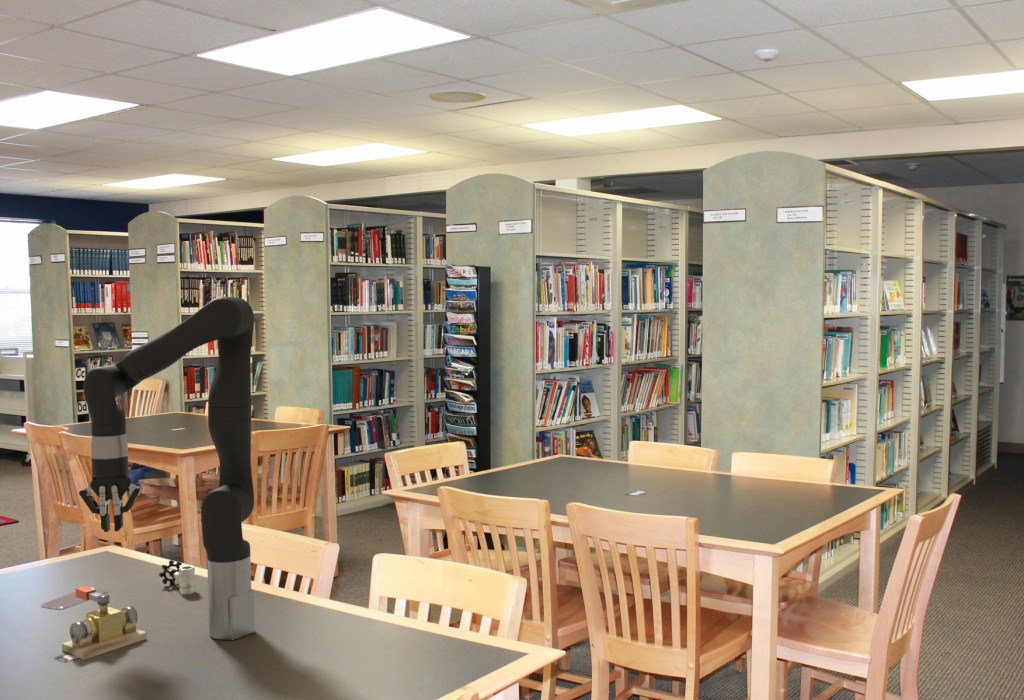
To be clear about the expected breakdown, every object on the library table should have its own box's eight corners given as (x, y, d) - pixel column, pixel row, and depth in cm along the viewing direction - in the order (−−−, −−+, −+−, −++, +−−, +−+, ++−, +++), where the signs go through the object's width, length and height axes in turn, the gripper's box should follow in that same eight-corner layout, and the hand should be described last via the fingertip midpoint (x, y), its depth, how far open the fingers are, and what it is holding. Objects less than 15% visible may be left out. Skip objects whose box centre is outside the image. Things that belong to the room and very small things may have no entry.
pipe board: (146, 638, 194) (145, 622, 193) (84, 659, 182) (83, 642, 182) (124, 630, 199) (123, 614, 199) (62, 650, 188) (61, 633, 187)
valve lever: (111, 603, 190) (111, 594, 190) (101, 606, 188) (100, 597, 188) (85, 594, 197) (85, 585, 197) (75, 597, 195) (75, 588, 195)
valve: (203, 591, 226) (183, 581, 235) (202, 566, 226) (182, 557, 234) (178, 597, 222) (159, 587, 230) (177, 572, 221) (158, 562, 230)
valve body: (139, 631, 194) (138, 597, 194) (81, 649, 184) (80, 614, 183) (126, 626, 197) (125, 593, 197) (68, 644, 187) (67, 610, 186)
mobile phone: (38, 604, 216) (88, 585, 230) (38, 608, 216) (88, 589, 230) (61, 607, 213) (110, 589, 227) (61, 611, 213) (110, 592, 227)
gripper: (71, 458, 192) (74, 536, 193) (137, 456, 194) (139, 533, 195) (82, 453, 199) (85, 528, 200) (146, 450, 201) (148, 525, 202)
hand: (112, 530), depth 197 cm, fingers closed
